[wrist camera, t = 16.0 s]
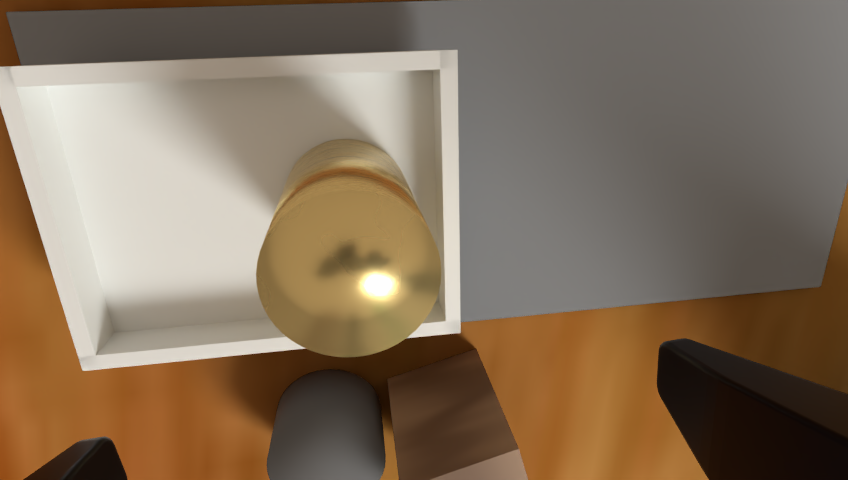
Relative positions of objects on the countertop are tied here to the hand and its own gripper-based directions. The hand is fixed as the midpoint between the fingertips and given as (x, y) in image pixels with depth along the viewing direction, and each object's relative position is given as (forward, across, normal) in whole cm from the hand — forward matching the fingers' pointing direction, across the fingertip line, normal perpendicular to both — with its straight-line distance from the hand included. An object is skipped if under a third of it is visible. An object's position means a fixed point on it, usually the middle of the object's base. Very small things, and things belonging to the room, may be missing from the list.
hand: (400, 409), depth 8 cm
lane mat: (+12, -5, -1) cm, 13 cm away
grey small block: (+12, +3, +9) cm, 15 cm away
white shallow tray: (+11, +3, -1) cm, 12 cm away
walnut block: (+12, -2, +9) cm, 15 cm away
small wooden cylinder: (+10, +1, -1) cm, 10 cm away
